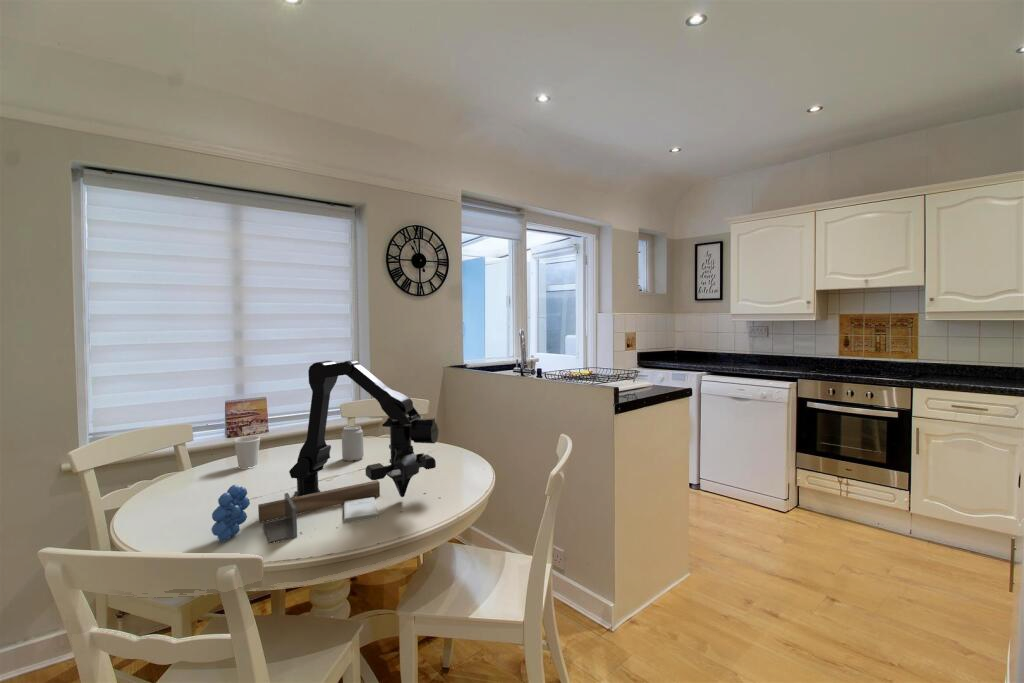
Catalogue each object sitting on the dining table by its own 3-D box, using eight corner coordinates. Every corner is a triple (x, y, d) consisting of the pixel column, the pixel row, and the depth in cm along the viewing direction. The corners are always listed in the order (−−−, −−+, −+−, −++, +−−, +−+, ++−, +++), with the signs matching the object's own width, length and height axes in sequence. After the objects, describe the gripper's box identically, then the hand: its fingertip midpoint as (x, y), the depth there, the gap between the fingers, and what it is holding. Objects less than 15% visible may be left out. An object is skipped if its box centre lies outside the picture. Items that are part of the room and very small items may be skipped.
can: (338, 460, 173) (337, 427, 173) (355, 455, 180) (354, 423, 179) (350, 463, 169) (349, 430, 169) (368, 458, 175) (367, 426, 175)
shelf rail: (258, 519, 121) (258, 504, 121) (377, 493, 139) (377, 480, 138) (259, 522, 120) (259, 507, 119) (379, 495, 137) (379, 482, 137)
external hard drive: (344, 524, 119) (344, 506, 130) (378, 519, 122) (374, 502, 133) (344, 518, 119) (343, 500, 130) (377, 513, 122) (374, 496, 133)
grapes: (232, 525, 118) (230, 478, 118) (257, 526, 117) (255, 478, 117) (196, 547, 106) (194, 495, 106) (224, 548, 106) (222, 496, 105)
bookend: (263, 525, 118) (262, 497, 118) (288, 519, 121) (287, 492, 121) (269, 543, 108) (268, 513, 108) (297, 537, 111) (296, 507, 111)
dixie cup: (263, 462, 172) (262, 435, 172) (259, 468, 164) (258, 440, 164) (237, 464, 169) (235, 437, 169) (232, 471, 161) (231, 442, 161)
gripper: (377, 454, 120) (378, 514, 121) (443, 442, 131) (444, 498, 131) (364, 445, 129) (365, 500, 130) (427, 434, 140) (428, 486, 141)
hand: (402, 496), depth 133 cm, fingers closed
